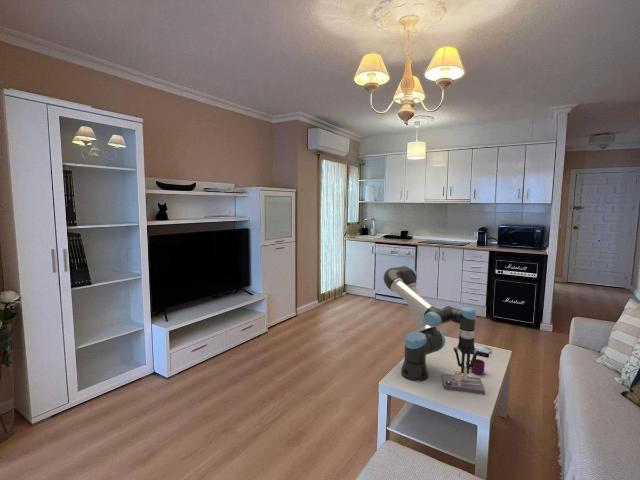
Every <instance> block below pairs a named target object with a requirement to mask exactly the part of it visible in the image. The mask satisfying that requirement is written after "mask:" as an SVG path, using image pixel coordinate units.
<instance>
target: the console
mask: <svg viewBox="0 0 640 480" xmlns="http://www.w3.org/2000/svg"><path fill="white" fill-rule="evenodd" d="M441 380H442V387H443V389H444V390H448V391H456V392H464V393H471V394H478V395H486V389H485V387H484V384H483V381H482V378H481V377H476V376H470V375H469V376H468V375H467V380H463V374H462V375H461V382H458V381H455V373H454V374H452V373H444V372H442V373H441Z"/></svg>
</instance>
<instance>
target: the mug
mask: <svg viewBox="0 0 640 480" xmlns="http://www.w3.org/2000/svg"><path fill="white" fill-rule="evenodd" d="M471 360H472V359H471ZM471 360H470V363H471ZM466 363H467V360H465V364H466ZM485 363H486V362H485V361H484V360H482V359H479V358H476V360H475V363H474V366H473V368H470V369H469V370H470V371H471V373H472V374H473V375H476V376H483V375H485V367H486V366H485V365H486V364H485Z"/></svg>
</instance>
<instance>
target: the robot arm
mask: <svg viewBox="0 0 640 480" xmlns="http://www.w3.org/2000/svg"><path fill="white" fill-rule="evenodd" d="M383 274H384V275H383V283H384V285H385V286H386V287H387V289H388V290H389V291H391V292H392V293H396V294H397V295H398V296H399V297H400V298H401V299H403V300H404V301H405V302H406V303H407V305H408V309H409V311H410V313H411V316H412V318H413V320H414V323H415V325H416V327H417V331H412V332H409V333H407V334H406V335H405V339H404V361H403V363H402V366H401V368H400V375H402V377H403V378H405V379H406V380H409V381H414V382H422V381H426V380H427V379H429V369H428V367H427V363H426V362H427V360H426V359H427V355H430V354H433V353H437V352H438V351H440V350H442V349H443V348H444V347H445V344H446V338H445V335H444V333H443V332H442V331H441V330H439V329H437V327H438V326H440V325H444V324H447V323H450V322H453V323H456V324H459V334H458V335H459V337H458V338H459V339H458V344H457V346H453V351H454V353H455V358H456V361H457V365H458V367H460V370H461V373H462V376H463V380H467V376H468V375H469V374H470V370H471V369H470V368H473V366H474V363H475V360H476V359H477V357H478V355H479V354H480V350H479V349H476V347H475V336H476V335H475V334H476V319H477V317H476V316H477V315H476V314H477V313H476V309H474V308H472V307H468V306H462V307H460V309H459V308H457V307H453V306H450V305H442V306H441V307H440V308H439V309H437V308H435V307H434V305H432V304H431V303H429V302H428V301H427V300H426V299H424V297H422V296H421V295H420V293H419V292H418V288H417V284H418V283H417V280H418V273H417V271H416V270H415V269H414V267H412V266H409V265H408V266H407V265H402V266H398V267H390V268H388V269H387V270H386V271H385V272H384V273H383ZM459 351H460V352H461V361H460V356H459ZM471 354H473V355H472V357H471ZM465 356H466V357H465ZM465 359H466V360H465ZM470 359H471V362H470ZM466 361H467V363H466Z"/></svg>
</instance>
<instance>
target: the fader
mask: <svg viewBox="0 0 640 480" xmlns="http://www.w3.org/2000/svg"><path fill="white" fill-rule="evenodd" d="M454 375H455V381H458V382H461V375H462V376H463V373H461V371H460V370H454Z"/></svg>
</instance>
